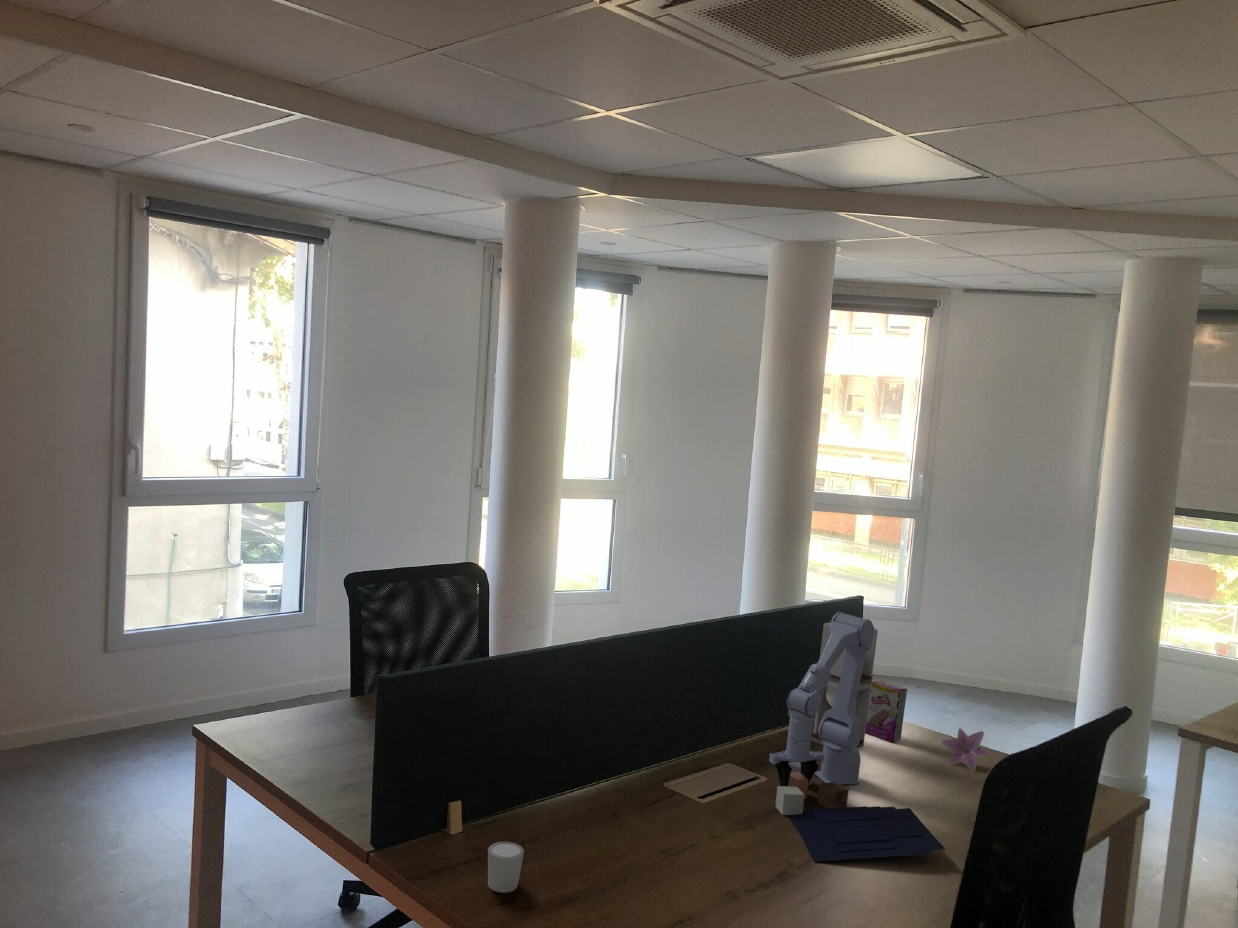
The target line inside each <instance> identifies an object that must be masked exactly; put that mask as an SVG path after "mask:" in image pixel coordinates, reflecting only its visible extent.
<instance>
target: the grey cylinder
mask: <svg viewBox="0 0 1238 928" xmlns="http://www.w3.org/2000/svg"><path fill="white" fill-rule="evenodd" d="M524 852H525V850H524V848H523V847H522V846H521V845H520V844H518V843H515V842H511V841H510V842H509V841H499V842H495V843H492V844H491V845H489V847H488V848H487V886H488V888H489V889H491V890H492V891H494V892H497V893H503V894H504V893H511V892H514V891H515V890H517V888H518V885H519V884H518V883H519V880H520V876H521V869H522V863H523V859H524Z"/></svg>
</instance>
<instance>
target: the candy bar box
mask: <svg viewBox="0 0 1238 928" xmlns="http://www.w3.org/2000/svg"><path fill="white" fill-rule="evenodd" d="M907 694H908V688H906V687H903V686H900V685H897V684H893V683H890V682H887V681H884V680H881V679H878V678H872V681H871V689H870V697H869V705H868V714H867V722H866V730H865V735H866V734H867V735H869V736H872V737H875V738H877V739H880V740H883V741H886V742H889V743H891V744H895V743H898V742H900V741H901V738H902V732H903V723H904V716H905V708H906V701H907Z"/></svg>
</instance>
